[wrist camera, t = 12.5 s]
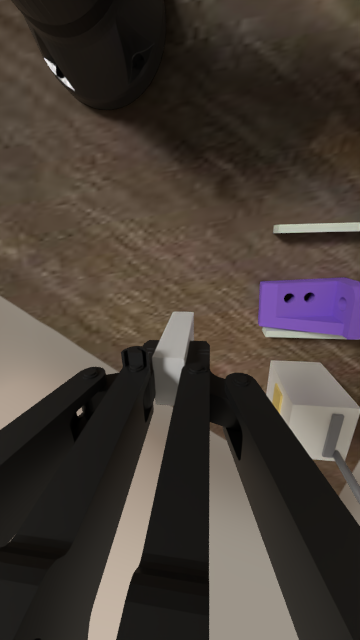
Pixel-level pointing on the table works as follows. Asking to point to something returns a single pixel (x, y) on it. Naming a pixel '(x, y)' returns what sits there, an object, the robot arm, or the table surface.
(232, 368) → the table surface
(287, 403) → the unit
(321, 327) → the bracket
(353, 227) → the corral
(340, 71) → the table surface
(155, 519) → the robot arm
